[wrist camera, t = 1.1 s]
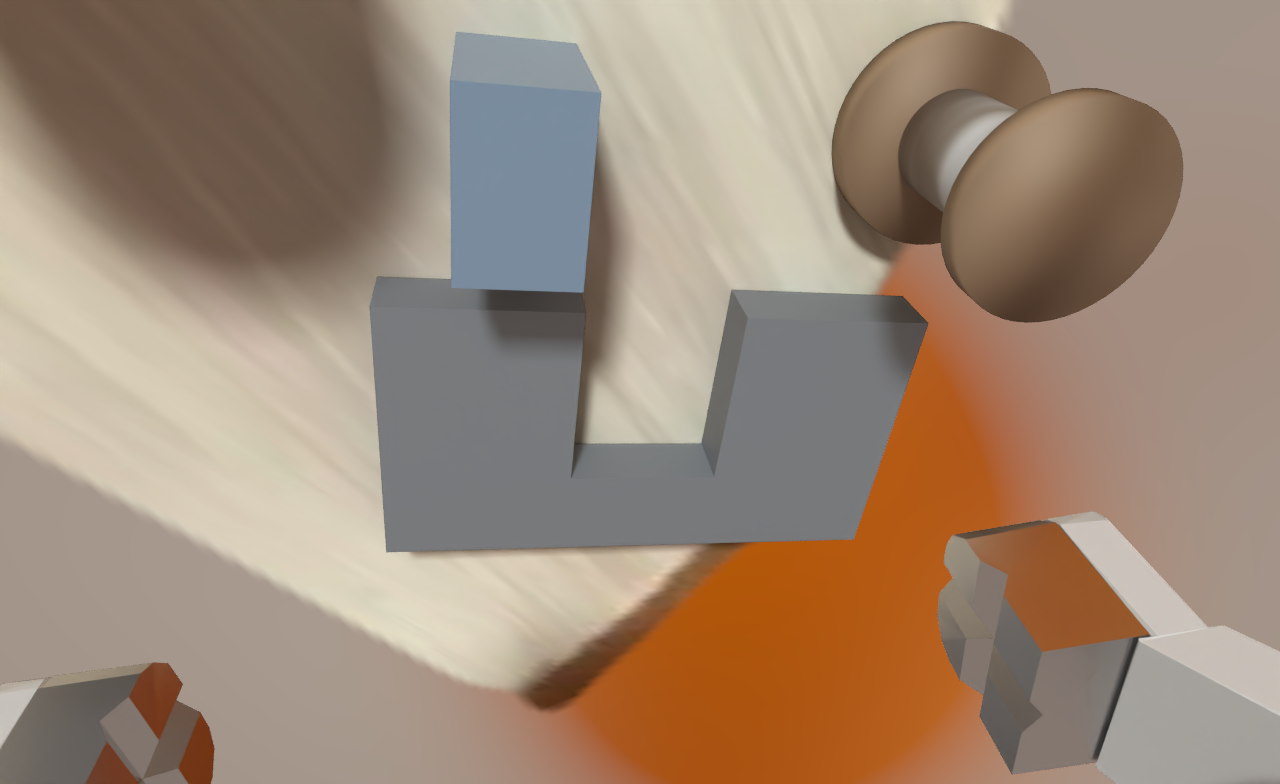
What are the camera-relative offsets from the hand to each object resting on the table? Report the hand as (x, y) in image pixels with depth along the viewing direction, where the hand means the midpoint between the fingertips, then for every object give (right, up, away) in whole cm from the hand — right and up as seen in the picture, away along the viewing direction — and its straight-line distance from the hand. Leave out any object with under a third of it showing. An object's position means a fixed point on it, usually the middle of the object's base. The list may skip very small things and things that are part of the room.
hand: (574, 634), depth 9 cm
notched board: (+1, +2, +28) cm, 28 cm away
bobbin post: (+12, +13, +23) cm, 29 cm away
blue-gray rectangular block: (-4, +12, +20) cm, 24 cm away
